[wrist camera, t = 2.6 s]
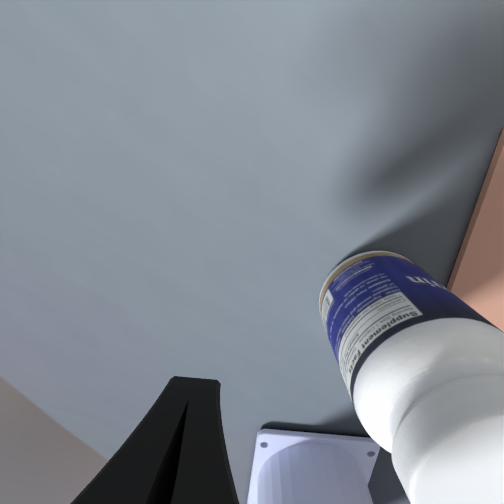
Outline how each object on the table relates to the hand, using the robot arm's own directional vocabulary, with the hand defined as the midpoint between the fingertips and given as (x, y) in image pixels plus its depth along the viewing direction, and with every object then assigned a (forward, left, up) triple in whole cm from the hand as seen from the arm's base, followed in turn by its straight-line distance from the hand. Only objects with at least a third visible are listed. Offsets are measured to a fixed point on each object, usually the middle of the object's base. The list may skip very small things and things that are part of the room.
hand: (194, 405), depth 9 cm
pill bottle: (0, -8, -8) cm, 12 cm away
